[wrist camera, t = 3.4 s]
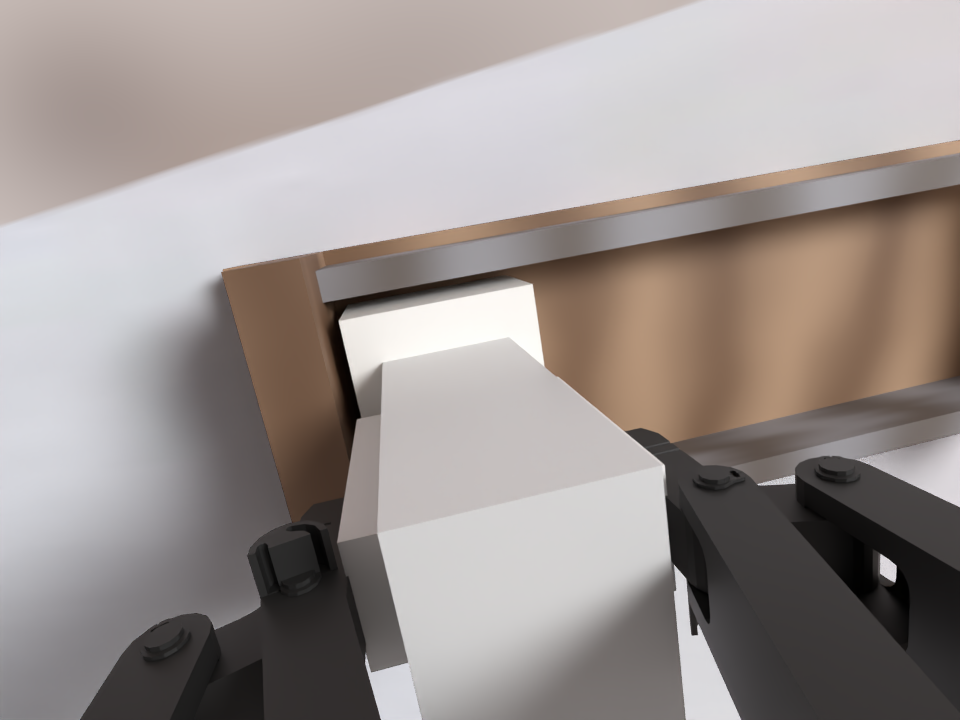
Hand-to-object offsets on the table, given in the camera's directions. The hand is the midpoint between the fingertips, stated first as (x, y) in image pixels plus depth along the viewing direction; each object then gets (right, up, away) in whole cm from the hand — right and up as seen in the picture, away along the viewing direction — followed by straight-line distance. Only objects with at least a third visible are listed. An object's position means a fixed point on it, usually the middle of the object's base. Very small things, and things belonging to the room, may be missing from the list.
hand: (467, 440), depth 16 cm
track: (+10, +4, +8) cm, 13 cm away
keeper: (-1, +1, +5) cm, 5 cm away
